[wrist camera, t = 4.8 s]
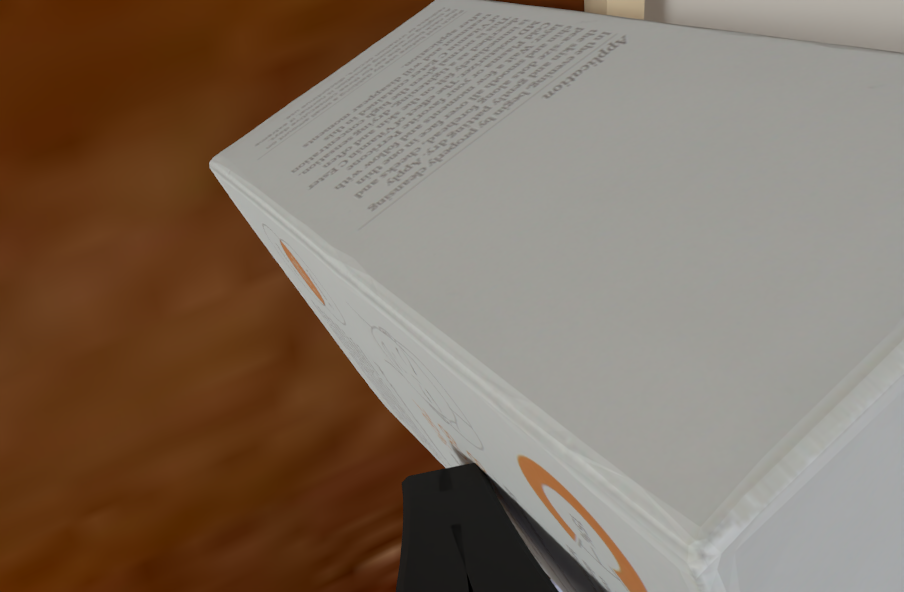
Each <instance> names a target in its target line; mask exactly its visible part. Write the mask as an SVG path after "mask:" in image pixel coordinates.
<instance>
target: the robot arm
mask: <svg viewBox="0 0 904 592" xmlns="http://www.w3.org/2000/svg"><path fill="white" fill-rule="evenodd" d="M402 490H403V535H402V547H401V558H400V566H399V573H398V580H397V587H396V592H563V591H562V590H561V589H560V588H559V587H558V586H557V585H556V583H555V582H554V581H553V580H552V579H549V577H548V576H547V574H546V573H545V571H544V570H543V569H542V567H541V566H540V564H539V563H538V561H537V560H536V559H535V557H534V556H533V554H532V553H531V551H530V550H529V548H528V547H527V545H526V544H525V542H524V541H523V539H522V538H521V536H520V535H519V533H518V531H517V530H516V528H515V526H514V525H513V523H512V521H511V520H510V518H509V516H508V515H507V513H506V511H505V509H504V508H503V506H502V504H501V502H500V501H499V499H498V497H497V495H496V493H495V491H494V489H493V487H492V485H491V483H490V481H489V479H488V476H487V475H486V474H485V473H484V472H483V471H482V470H481V469H480V468H479V466H478V465H477V464H476V463H470V464H465V465H460V466H455V467H450V468H446V469H441V470H436V471H431V472H426V473H421V474H417V475H412V476H408V477H407V478H406V479H405V480H404V481H403V482H402Z"/></svg>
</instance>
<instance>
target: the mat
mask: <svg viewBox="0 0 904 592" xmlns="http://www.w3.org/2000/svg"><path fill="white" fill-rule="evenodd" d="M644 20H650V21H657V22H663V23H671V24H679V25H687V26H695V27H703V28H711V29H719V30H727V31H735V32H743V33H751V34H759V35H766V36H773V37H780V38H787V39H794V40H803V41H814V42H821V43H827V44H837V45H847V46H855V47H863V48H870V49H878V50H886V51H894V52H901V53H904V0H645V7H644Z"/></svg>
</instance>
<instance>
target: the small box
mask: <svg viewBox="0 0 904 592" xmlns="http://www.w3.org/2000/svg"><path fill="white" fill-rule="evenodd" d="M209 165H210V169H211V170H212V172H213V173H214V175H215V176H216V178H217V179H218V181H219V182H220V183H221V185H222V186H223V188H224V189H225V191H226V192H227V193H228V195H229V196H230V198H231V199H232V201H233V202H234V203H235V205H236V206H237V208H238V209H239V210H240V212H241V213H242V214H243V216H244V217H245V219H246V220H247V221H248V223H249V224H250V225H251V227H252V228H253V230H254V231H255V232H256V234H257V235H258V236H259V238H260V239H261V241H262V242H263V243H264V245H265V246H266V247H267V249H268V250H269V252H270V253H271V254H272V256H273V257H274V258H275V260H276V261H277V262H278V264H279V265H280V267H281V268H282V269H283V271H284V272H285V273H286V275H287V276H288V277H289V279H290V280H291V282H292V283H293V284H294V286H295V287H296V288H297V290H298V291H299V292H300V294H301V295H302V296H303V298H304V299H305V300H306V302H307V303H308V304H309V306H310V307H311V309H312V310H313V311H314V313H315V314H316V315H317V317H318V318H319V319H320V321H321V322H322V323H323V325H324V326H325V327H326V329H327V330H328V331H329V333H330V334H331V336H332V337H333V338H334V340H335V341H336V342H337V344H338V345H339V346H340V348H341V349H342V350H343V352H344V353H345V354H346V356H347V357H348V358H349V360H350V361H351V363H352V364H353V365H354V367H355V368H356V369H357V371H358V372H359V373H360V374H361V376H362V377H363V378H364V380H365V381H366V382H367V384H368V385H369V386H370V388H371V389H372V390H373V392H374V393H375V394H376V395H377V397H378V398H379V399H380V400H381V402H382V403H383V404H384V405H385V406H386V407H387V409H388V410H389V411H390V412H391V413H392V414H393V415H394V416H395V417H396V418H397V419H398V420H399V421H400V422H401V423H402V424H403V425H404V426H405V427H406V428H407V429H408V430H409V431H410V432H411V433H412V434H413V435H414V436H415V437H416V438H417V439H418V440H419V441H420V442H421V443H422V444H423V445H424V446H425V447H426V448H427V449H428V450H429V451H430V452H431V453H432V454H433V456H434V457H435V458H436V459H437V460H438V461H439V462H440V463H441V464H442V465H443V466H444V467H445V468H450V467H455V466H460V465H465V464H470V463H476V464H477V465H478V466H479V468H480V469H481V470H482V471H483V472H484V473H485V474H486V475H487V476H488V479H489V481H490V483H491V485H492V487H493V489H494V491H495V493H496V495H497V497H498V499H499V501H500V502H501V504H502V506H503V508H504V509H505V511H506V513H507V515H508V516H509V518H510V520H511V521H512V523H513V525H514V526H515V528H516V530H517V531H518V533H519V535H520V536H521V538H522V539H523V541H524V542H525V544H526V545H527V547H528V548H529V550H530V551H531V553H532V554H533V556H534V557H535V559H536V560H537V561H538V563H539V564H540V566H541V567H542V569H543V570H544V571H545V573H546V574H547V575H548V576H549V577H550V578H551V579H552V580H553V581H554V582H555V583H556V585H557V586H558V587H559V588H560V589H561V590H562V591H563V592H904V53H901V52H894V51H886V50H878V49H870V48H863V47H855V46H847V45H837V44H827V43H821V42H814V41H803V40H794V39H787V38H780V37H773V36H766V35H759V34H751V33H743V32H735V31H727V30H719V29H711V28H703V27H695V26H687V25H679V24H671V23H663V22H657V21H650V20H642V19H633V18H626V17H619V16H612V15H601V14H595V13H588V12H581V11H573V10H565V9H556V8H548V7H539V6H530V5H522V4H514V3H507V2H499V1H491V0H435V1H434V2H432V3H431V4H430V5H429V6H427V7H426V8H424V9H423V10H422V11H420V12H419V13H417V14H416V15H415V16H413V17H412V18H410V19H409V20H408V21H406V22H405V23H403V24H402V25H401V26H399V27H398V28H397V29H395V30H394V31H392V32H391V33H389V34H388V35H387V36H385V37H384V38H382V39H381V40H379V41H378V42H376V43H375V44H373V45H372V46H371V47H369V48H368V49H367V50H365V51H364V52H362V53H361V54H360V55H358V56H357V57H355V58H354V59H353V60H351V61H350V62H348V63H347V64H346V65H344V66H343V67H341V68H340V69H339V70H337V71H336V72H334V73H333V74H332V75H330V76H329V77H327V78H326V79H324V80H323V81H321V82H320V83H318V84H317V85H316V86H314V87H313V88H311V89H310V90H308V91H307V92H306V93H304V94H303V95H301V96H300V97H298V98H297V99H295V100H294V101H292V102H291V103H290V104H288V105H287V106H286V107H284V108H283V109H281V110H280V111H279V112H277V113H276V114H274V115H273V116H271V117H270V118H269V119H267V120H266V121H264V122H263V123H262V124H260V125H259V126H258V127H256V128H255V129H253V130H252V131H251V132H249V133H248V134H246V135H245V136H244V137H242V138H241V139H239V140H238V141H236V142H235V143H233V144H232V145H230V146H229V147H227V148H226V149H225V150H223V151H222V152H220V153H219V154H217V155H216V156H215V157H213V159H212V160H211V161H210V162H209Z"/></svg>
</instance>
